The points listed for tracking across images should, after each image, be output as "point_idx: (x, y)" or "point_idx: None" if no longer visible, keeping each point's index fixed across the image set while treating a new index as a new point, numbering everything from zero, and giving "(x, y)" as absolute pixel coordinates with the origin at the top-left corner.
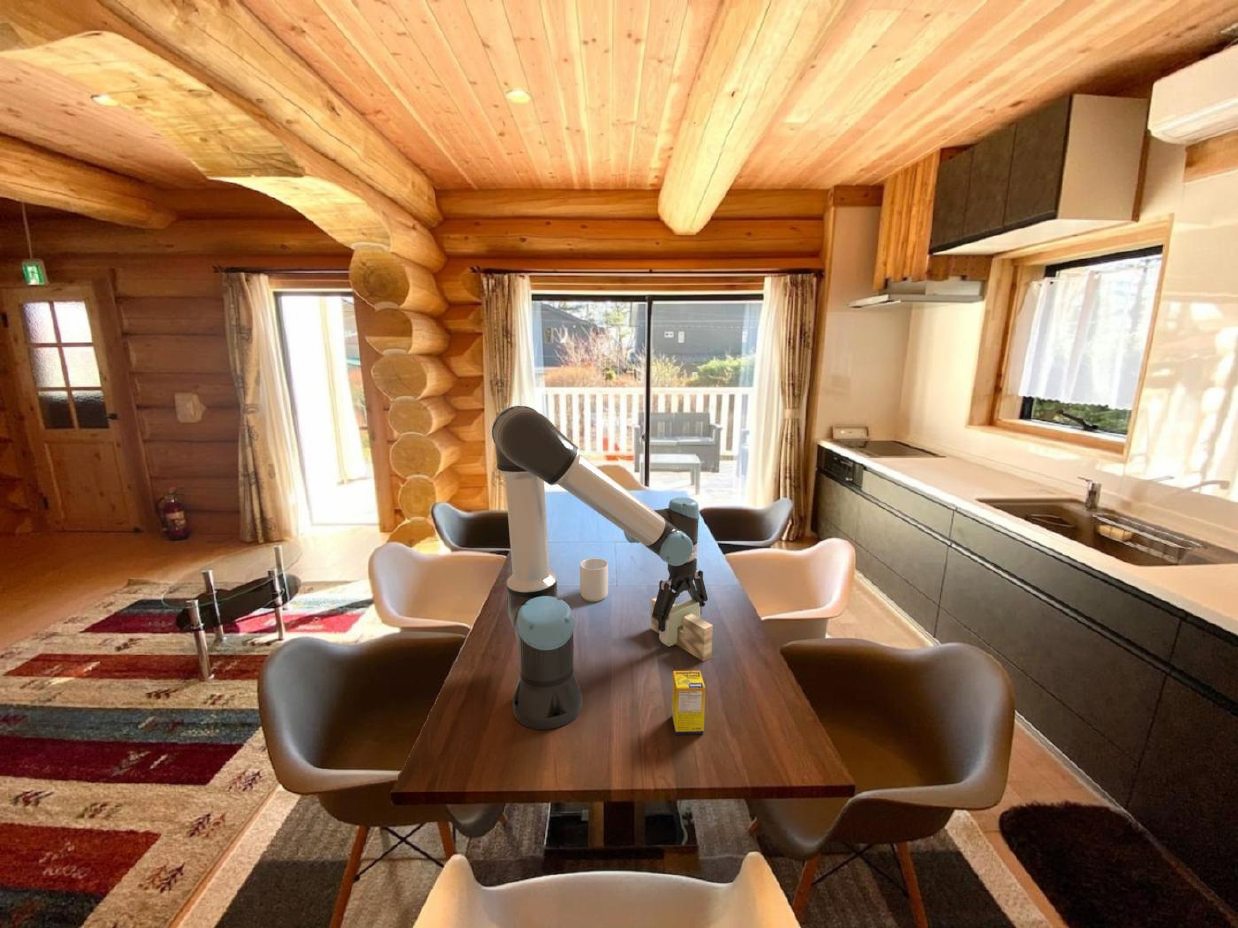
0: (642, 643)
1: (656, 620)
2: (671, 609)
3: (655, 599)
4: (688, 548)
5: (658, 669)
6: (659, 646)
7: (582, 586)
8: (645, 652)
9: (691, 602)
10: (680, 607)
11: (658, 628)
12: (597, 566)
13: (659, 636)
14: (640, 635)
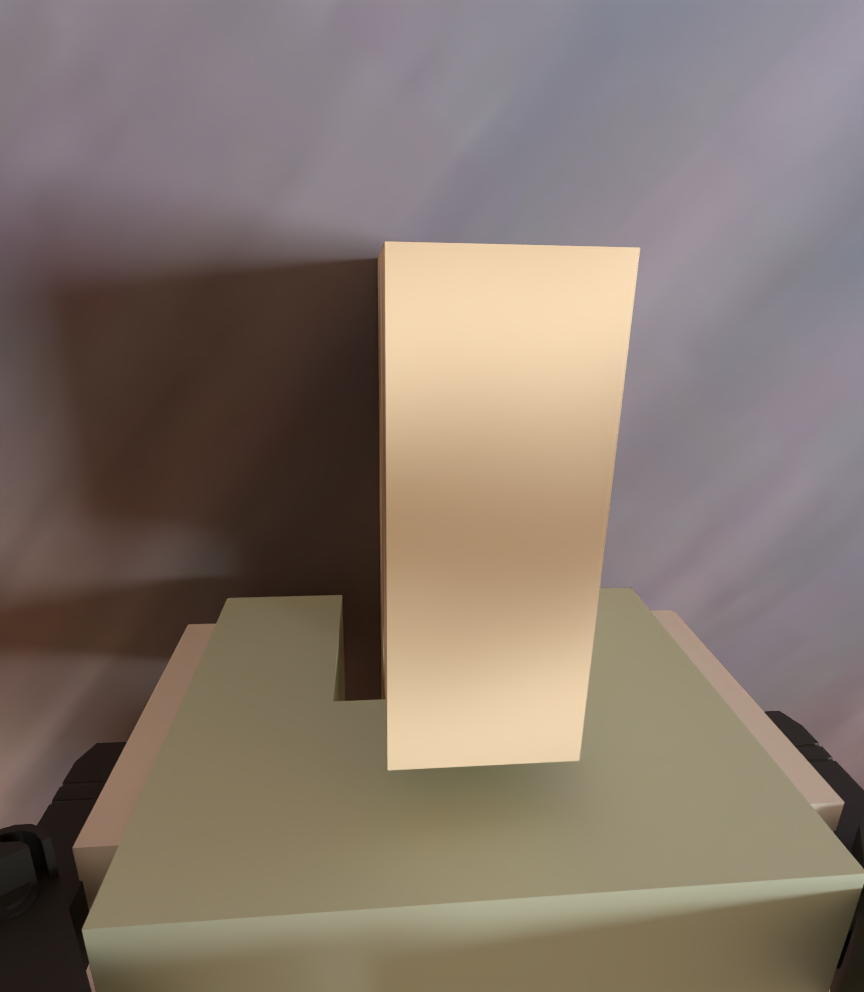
0: (114, 429)
1: (380, 366)
2: (277, 974)
3: (451, 309)
4: None
5: (20, 783)
6: (231, 562)
7: None
8: (53, 561)
9: (747, 954)
10: (464, 989)
11: (78, 767)
12: None
13: (178, 644)
14: (185, 294)
